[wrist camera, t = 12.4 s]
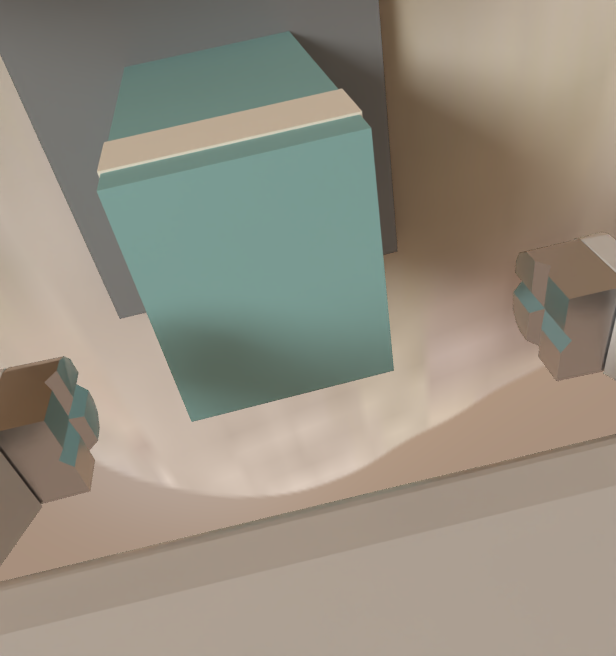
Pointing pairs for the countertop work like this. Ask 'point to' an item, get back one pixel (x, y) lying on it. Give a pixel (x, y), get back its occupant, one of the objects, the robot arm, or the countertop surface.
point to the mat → (158, 43)
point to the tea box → (249, 222)
